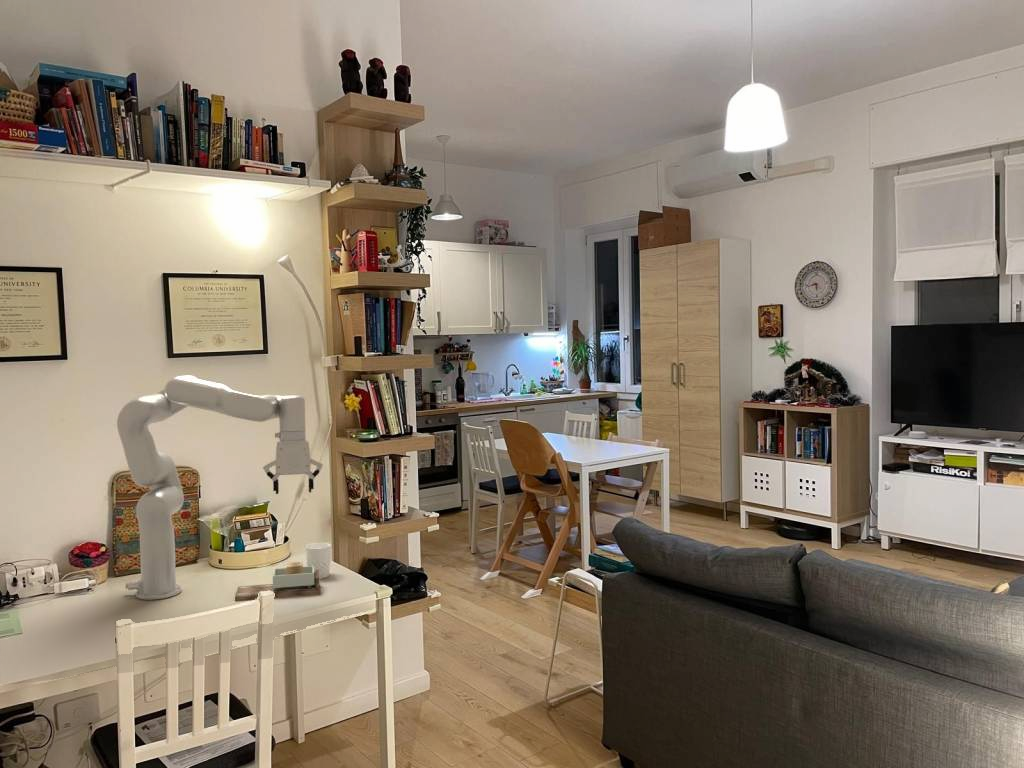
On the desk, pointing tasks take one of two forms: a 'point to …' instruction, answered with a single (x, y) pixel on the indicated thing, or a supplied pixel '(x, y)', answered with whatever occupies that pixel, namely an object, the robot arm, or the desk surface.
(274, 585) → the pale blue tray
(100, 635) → the desk surface
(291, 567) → the block
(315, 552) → the white cup
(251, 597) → the rail
